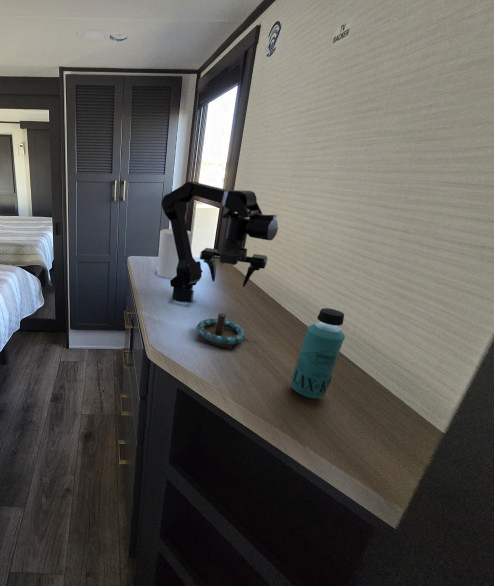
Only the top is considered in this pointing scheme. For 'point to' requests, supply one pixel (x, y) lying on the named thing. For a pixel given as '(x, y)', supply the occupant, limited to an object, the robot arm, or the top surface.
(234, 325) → the teal ring
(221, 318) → the peg stand
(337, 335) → the beverage bottle
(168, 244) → the canister
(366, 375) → the top surface
